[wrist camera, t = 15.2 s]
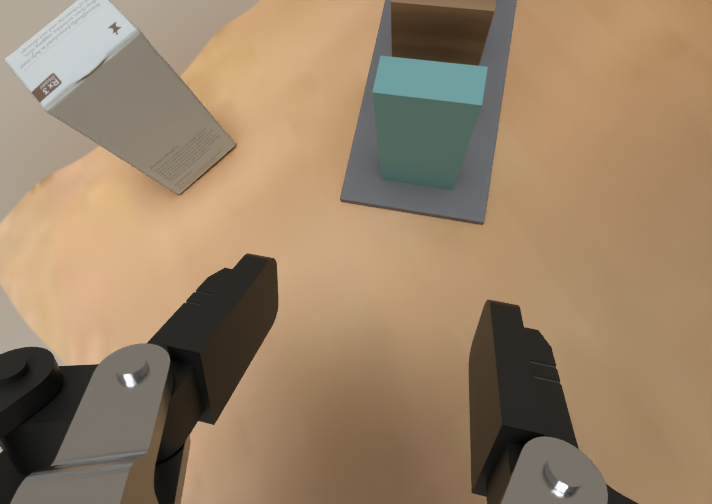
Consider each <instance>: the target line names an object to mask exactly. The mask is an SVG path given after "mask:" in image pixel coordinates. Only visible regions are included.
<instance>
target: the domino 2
mask: <svg viewBox="0 0 712 504" xmlns="http://www.w3.org/2000/svg"><path fill="white" fill-rule="evenodd" d="M487 69H488V67H485V66H475V65H465V64H456V63H446V62H437V61H427V60H417V59H408V58H398V57H389V56H380V60H379V65H378V70H377V74H376V79H375V83H374V88H373V103H374V113H375V123H376V133H377V143H378V153H379V163H380V173H381V180H388V181H395V182H401V183H408V184H415V185H421V186H428V187H435V188H441V189H448V190H453V187H454V184H455V181H456V178H457V175H458V173H459V170H460V167H461V164H462V161H463V158H464V155H465V152H466V150H467V147H468V144H469V141H470V138H471V135H472V132H473V129H474V127H475V124H476V121H477V118H478V115H479V112H480V109H481V106H482V101H483V95H484V88H485V82H486V75H487Z"/></svg>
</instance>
